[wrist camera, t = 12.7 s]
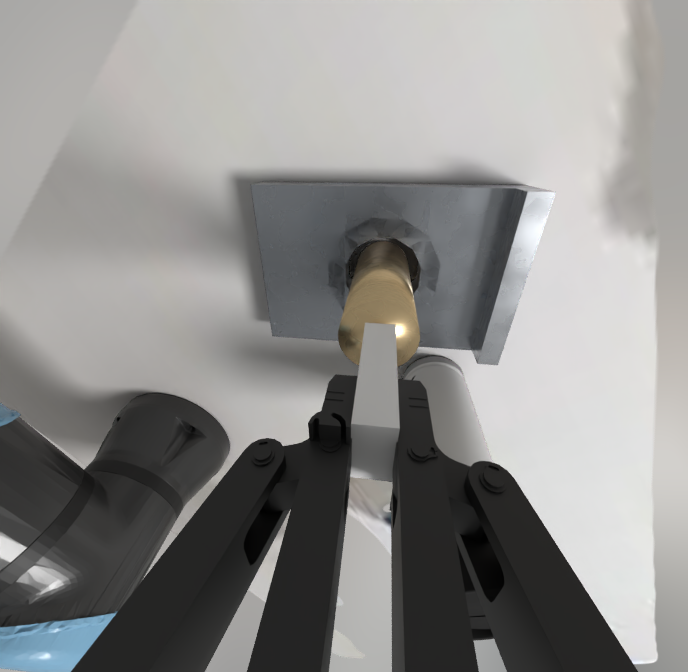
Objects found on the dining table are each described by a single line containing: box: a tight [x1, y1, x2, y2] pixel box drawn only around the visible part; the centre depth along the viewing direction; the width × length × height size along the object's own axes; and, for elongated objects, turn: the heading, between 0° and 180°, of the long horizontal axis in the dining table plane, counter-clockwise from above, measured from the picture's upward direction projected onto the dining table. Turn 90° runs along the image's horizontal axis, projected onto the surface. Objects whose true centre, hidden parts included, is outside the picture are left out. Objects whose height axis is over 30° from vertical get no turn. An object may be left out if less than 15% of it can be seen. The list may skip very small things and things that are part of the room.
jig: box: [251, 182, 556, 365], centre depth 24 cm, size 20×13×4 cm, turn 90°
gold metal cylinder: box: [338, 241, 420, 367], centre depth 21 cm, size 4×4×12 cm
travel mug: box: [403, 356, 494, 640], centre depth 24 cm, size 6×7×20 cm
